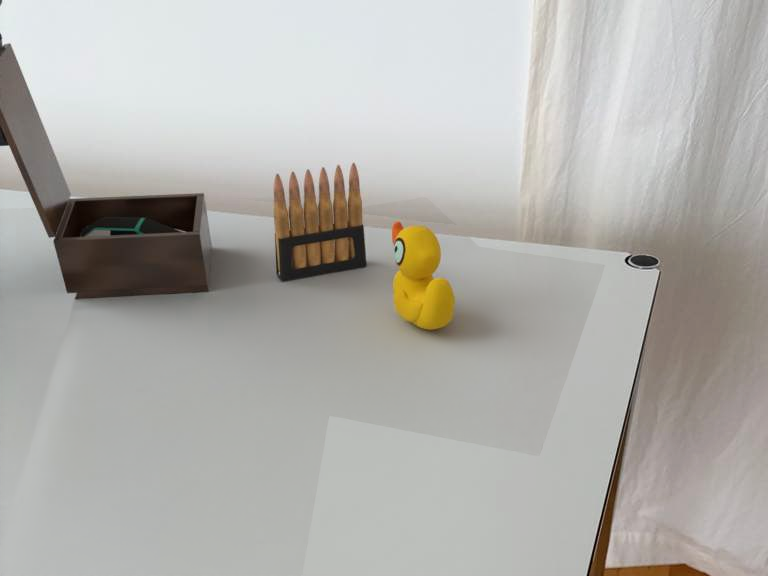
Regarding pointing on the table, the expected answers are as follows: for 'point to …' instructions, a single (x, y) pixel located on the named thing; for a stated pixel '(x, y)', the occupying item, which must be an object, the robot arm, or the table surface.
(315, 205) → the ammunition clip
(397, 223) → the duckling
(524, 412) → the table surface
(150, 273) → the case
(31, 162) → the case lid
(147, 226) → the toy car
